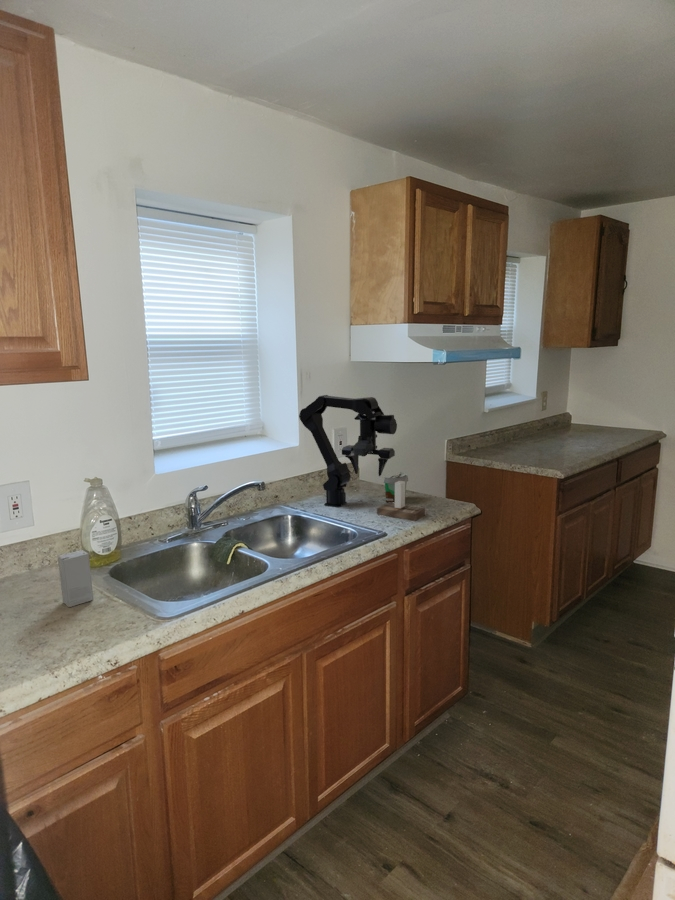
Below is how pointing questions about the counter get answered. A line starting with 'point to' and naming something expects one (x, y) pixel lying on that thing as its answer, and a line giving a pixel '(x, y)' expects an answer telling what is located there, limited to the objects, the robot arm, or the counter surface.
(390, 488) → the food container
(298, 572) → the counter surface
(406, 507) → the console
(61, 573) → the skincare box
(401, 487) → the fader
